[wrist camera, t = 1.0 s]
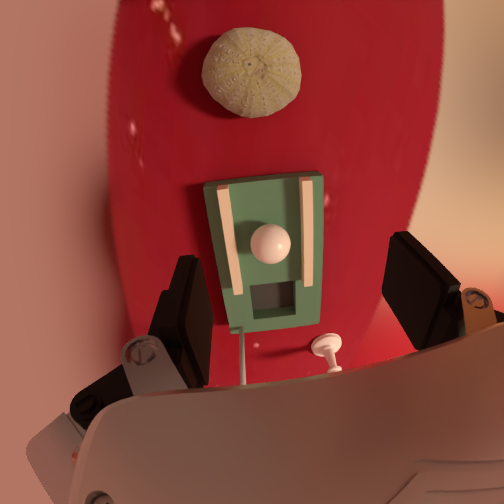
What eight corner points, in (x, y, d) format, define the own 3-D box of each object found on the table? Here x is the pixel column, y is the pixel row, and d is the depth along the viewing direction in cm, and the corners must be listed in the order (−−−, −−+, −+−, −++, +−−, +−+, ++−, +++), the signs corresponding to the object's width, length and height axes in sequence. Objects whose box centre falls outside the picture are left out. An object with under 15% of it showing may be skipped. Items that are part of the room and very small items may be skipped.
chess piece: (324, 357, 44) (338, 406, 35) (304, 346, 42) (317, 399, 33) (346, 340, 42) (365, 389, 33) (328, 328, 40) (346, 381, 32)
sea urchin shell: (238, 142, 25) (200, 88, 18) (213, 95, 28) (179, 48, 20) (322, 100, 23) (309, 37, 16) (285, 60, 26) (266, 6, 18)
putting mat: (191, 184, 29) (158, 247, 17) (317, 171, 29) (374, 223, 17) (220, 324, 39) (217, 411, 26) (316, 313, 39) (342, 396, 26)
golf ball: (247, 219, 29) (249, 237, 26) (286, 215, 29) (293, 232, 26) (251, 253, 31) (253, 273, 28) (287, 249, 31) (294, 269, 27)
